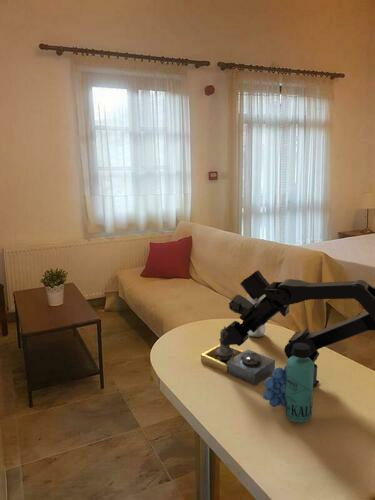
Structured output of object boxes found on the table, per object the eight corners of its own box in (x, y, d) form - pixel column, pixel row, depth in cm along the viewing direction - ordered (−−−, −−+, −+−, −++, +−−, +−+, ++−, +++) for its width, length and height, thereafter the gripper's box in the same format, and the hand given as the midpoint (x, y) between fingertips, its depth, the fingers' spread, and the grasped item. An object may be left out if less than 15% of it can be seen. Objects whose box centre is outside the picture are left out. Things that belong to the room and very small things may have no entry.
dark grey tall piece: (212, 362, 124) (211, 327, 121) (221, 354, 128) (221, 320, 125) (228, 368, 120) (228, 331, 117) (237, 359, 125) (237, 324, 122)
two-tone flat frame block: (275, 371, 117) (275, 356, 116) (254, 386, 110) (254, 370, 109) (222, 349, 132) (222, 335, 130) (201, 361, 124) (200, 347, 123)
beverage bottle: (290, 408, 100) (293, 336, 96) (316, 418, 96) (320, 343, 92) (279, 421, 96) (281, 346, 91) (305, 433, 91) (309, 355, 87)
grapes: (299, 394, 106) (301, 354, 103) (310, 410, 99) (312, 367, 97) (257, 398, 105) (258, 357, 102) (265, 414, 98) (266, 371, 95)
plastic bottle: (266, 339, 138) (267, 285, 133) (247, 339, 138) (248, 285, 134) (263, 331, 144) (264, 279, 140) (245, 331, 145) (245, 279, 140)
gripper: (258, 280, 122) (227, 307, 131) (231, 299, 107) (198, 328, 116) (282, 308, 120) (249, 334, 128) (258, 331, 105) (222, 359, 113)
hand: (230, 338), depth 121 cm, fingers open, 9 cm apart
